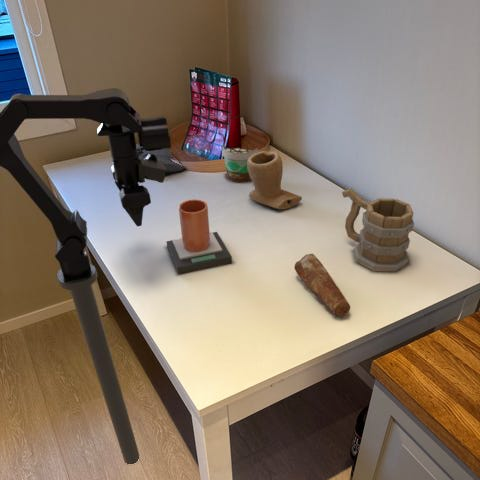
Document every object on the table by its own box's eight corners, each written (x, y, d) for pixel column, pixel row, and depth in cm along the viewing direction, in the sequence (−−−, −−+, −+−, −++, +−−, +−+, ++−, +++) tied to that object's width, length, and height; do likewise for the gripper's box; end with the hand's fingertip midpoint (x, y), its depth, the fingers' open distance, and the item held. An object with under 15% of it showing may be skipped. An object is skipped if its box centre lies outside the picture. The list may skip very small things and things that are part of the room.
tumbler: (179, 250, 124) (174, 211, 116) (188, 236, 129) (184, 198, 122) (205, 253, 122) (202, 214, 115) (213, 239, 127) (211, 201, 120)
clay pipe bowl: (239, 201, 148) (238, 153, 138) (265, 188, 154) (266, 142, 145) (276, 218, 140) (278, 168, 130) (302, 204, 146) (306, 155, 136)
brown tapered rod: (315, 269, 120) (317, 250, 117) (353, 316, 107) (357, 296, 103) (292, 274, 119) (293, 255, 115) (327, 323, 105) (330, 303, 102)
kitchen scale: (178, 274, 120) (177, 265, 118) (167, 247, 130) (165, 239, 128) (231, 263, 123) (231, 254, 122) (217, 237, 133) (216, 229, 131)
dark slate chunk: (146, 181, 161) (144, 167, 157) (126, 158, 175) (124, 145, 172) (189, 171, 166) (187, 157, 163) (166, 149, 181) (164, 136, 177)
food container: (217, 181, 159) (216, 151, 153) (223, 173, 164) (222, 144, 157) (254, 185, 156) (253, 155, 150) (259, 177, 161) (259, 147, 154)
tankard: (416, 258, 123) (429, 204, 113) (385, 278, 117) (397, 223, 107) (353, 228, 135) (361, 177, 125) (323, 245, 129) (328, 193, 119)
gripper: (169, 163, 101) (177, 229, 111) (152, 133, 114) (161, 194, 125) (115, 172, 99) (129, 238, 109) (105, 140, 112) (117, 201, 122)
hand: (136, 216), depth 116 cm, fingers open, 9 cm apart
